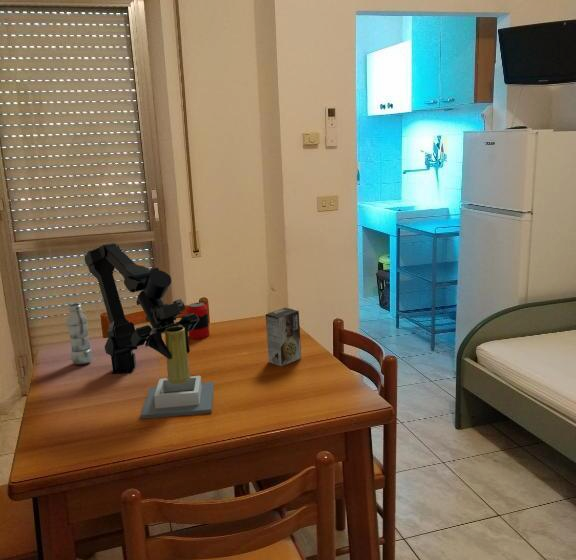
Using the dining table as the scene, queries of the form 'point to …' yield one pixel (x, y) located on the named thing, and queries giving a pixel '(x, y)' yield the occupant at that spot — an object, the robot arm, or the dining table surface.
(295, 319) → the coffee box
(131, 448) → the dining table surface
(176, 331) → the vase
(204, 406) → the holder
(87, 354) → the plastic bottle
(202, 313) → the soda can
